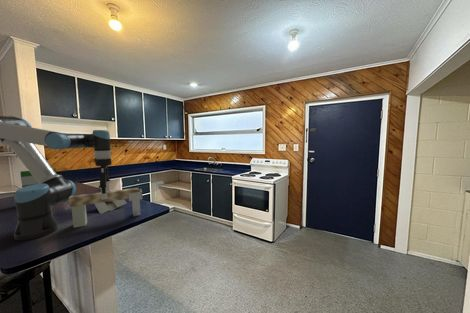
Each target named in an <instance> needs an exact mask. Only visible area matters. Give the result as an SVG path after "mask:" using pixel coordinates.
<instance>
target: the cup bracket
mask: <svg viewBox="0 0 470 313" xmlns="http://www.w3.org/2000/svg"><path fill="white" fill-rule="evenodd" d="M141 200H143V191H142V188H138V192H134V193H129V199H128V201H129V202H131V204H132V206H131V207H132V217H138V216H141V215H142V214H141Z"/></svg>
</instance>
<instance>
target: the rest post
mask: <svg viewBox="0 0 470 313" xmlns="http://www.w3.org/2000/svg"><path fill="white" fill-rule="evenodd" d="M71 214H72V216H71V217H72V226H73V229H74V228H79V227H80V228H81V227H84V226H87V224H88V215H87V205H82V206H75V207H71Z"/></svg>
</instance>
